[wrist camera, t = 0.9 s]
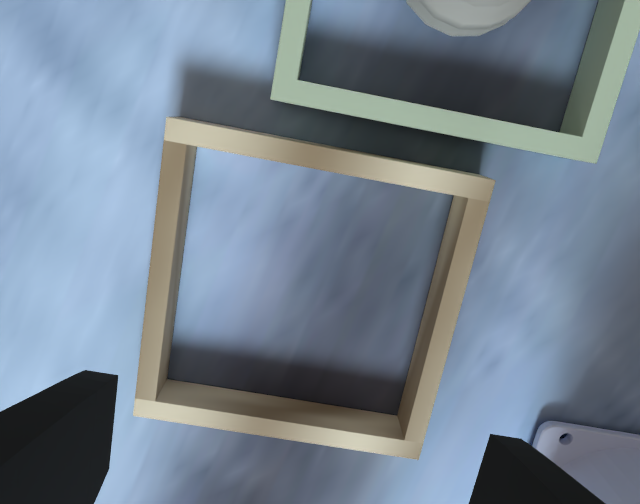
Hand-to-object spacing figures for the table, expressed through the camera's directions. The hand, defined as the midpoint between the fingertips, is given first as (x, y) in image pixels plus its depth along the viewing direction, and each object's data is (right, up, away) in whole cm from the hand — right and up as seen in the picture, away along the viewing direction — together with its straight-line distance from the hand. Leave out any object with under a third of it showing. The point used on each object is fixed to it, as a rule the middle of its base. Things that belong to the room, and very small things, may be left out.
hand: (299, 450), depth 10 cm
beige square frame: (0, +2, +9) cm, 9 cm away
